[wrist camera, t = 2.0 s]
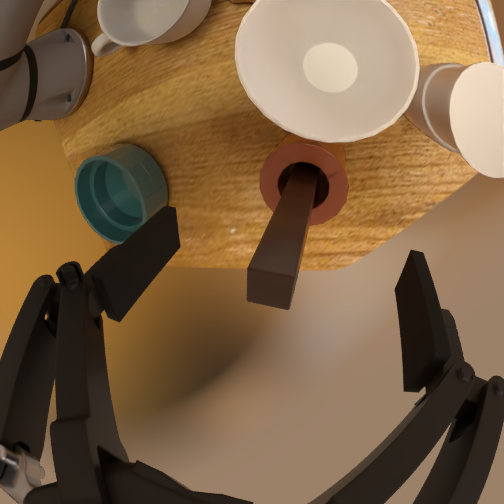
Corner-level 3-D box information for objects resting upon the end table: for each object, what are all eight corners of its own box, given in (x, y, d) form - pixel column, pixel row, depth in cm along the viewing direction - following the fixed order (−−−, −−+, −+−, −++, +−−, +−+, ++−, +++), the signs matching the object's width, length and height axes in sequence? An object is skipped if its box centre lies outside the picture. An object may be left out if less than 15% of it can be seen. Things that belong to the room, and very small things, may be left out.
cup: (312, 132, 27) (295, 172, 16) (258, 51, 23) (200, 34, 13) (400, 93, 22) (449, 105, 11) (345, 6, 18) (351, -47, 7)
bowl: (96, 143, 34) (67, 156, 30) (166, 141, 32) (138, 155, 27) (110, 217, 42) (86, 237, 37) (175, 229, 39) (153, 252, 35)
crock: (282, 121, 27) (261, 138, 20) (349, 131, 26) (354, 151, 19) (278, 181, 31) (257, 218, 24) (339, 192, 30) (339, 232, 23)
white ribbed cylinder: (387, 118, 24) (434, 155, 12) (399, 56, 19) (458, 39, 8) (445, 139, 22) (518, 196, 11) (458, 81, 18) (544, 97, 7)
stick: (303, 148, 27) (246, 267, 12) (322, 151, 27) (294, 277, 11) (301, 166, 28) (246, 301, 13) (320, 169, 28) (289, 311, 12)
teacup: (204, -44, 17) (167, -67, 10) (239, 21, 21) (207, 5, 15) (114, 15, 22) (68, 14, 16) (139, 76, 27) (94, 83, 21)
